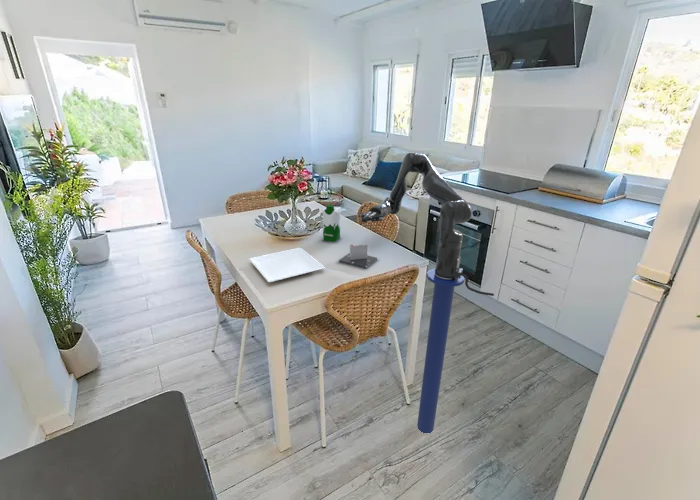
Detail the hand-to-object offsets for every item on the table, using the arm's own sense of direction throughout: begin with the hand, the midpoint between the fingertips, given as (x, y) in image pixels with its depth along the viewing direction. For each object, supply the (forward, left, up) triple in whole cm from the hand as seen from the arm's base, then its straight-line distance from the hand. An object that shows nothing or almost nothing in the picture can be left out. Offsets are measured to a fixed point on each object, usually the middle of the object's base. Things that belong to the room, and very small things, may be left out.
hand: (363, 220), depth 168 cm
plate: (+22, +33, -17) cm, 43 cm away
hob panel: (-3, +10, -17) cm, 20 cm away
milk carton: (+23, -8, -17) cm, 30 cm away
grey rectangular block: (-3, +10, -16) cm, 19 cm away
